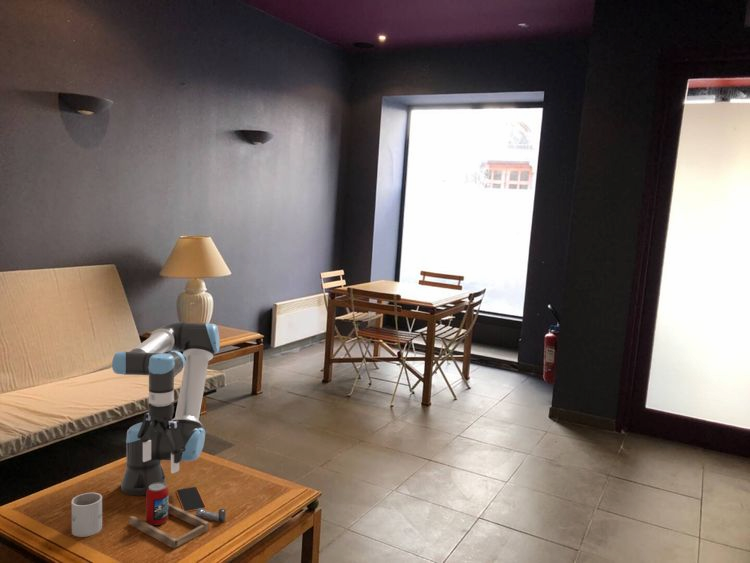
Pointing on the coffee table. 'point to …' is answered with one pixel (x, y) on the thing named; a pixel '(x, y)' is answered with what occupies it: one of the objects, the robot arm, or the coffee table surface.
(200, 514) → the crank handle
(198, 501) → the smartphone
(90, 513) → the mug
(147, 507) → the beverage can
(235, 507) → the coffee table surface
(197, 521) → the bay
